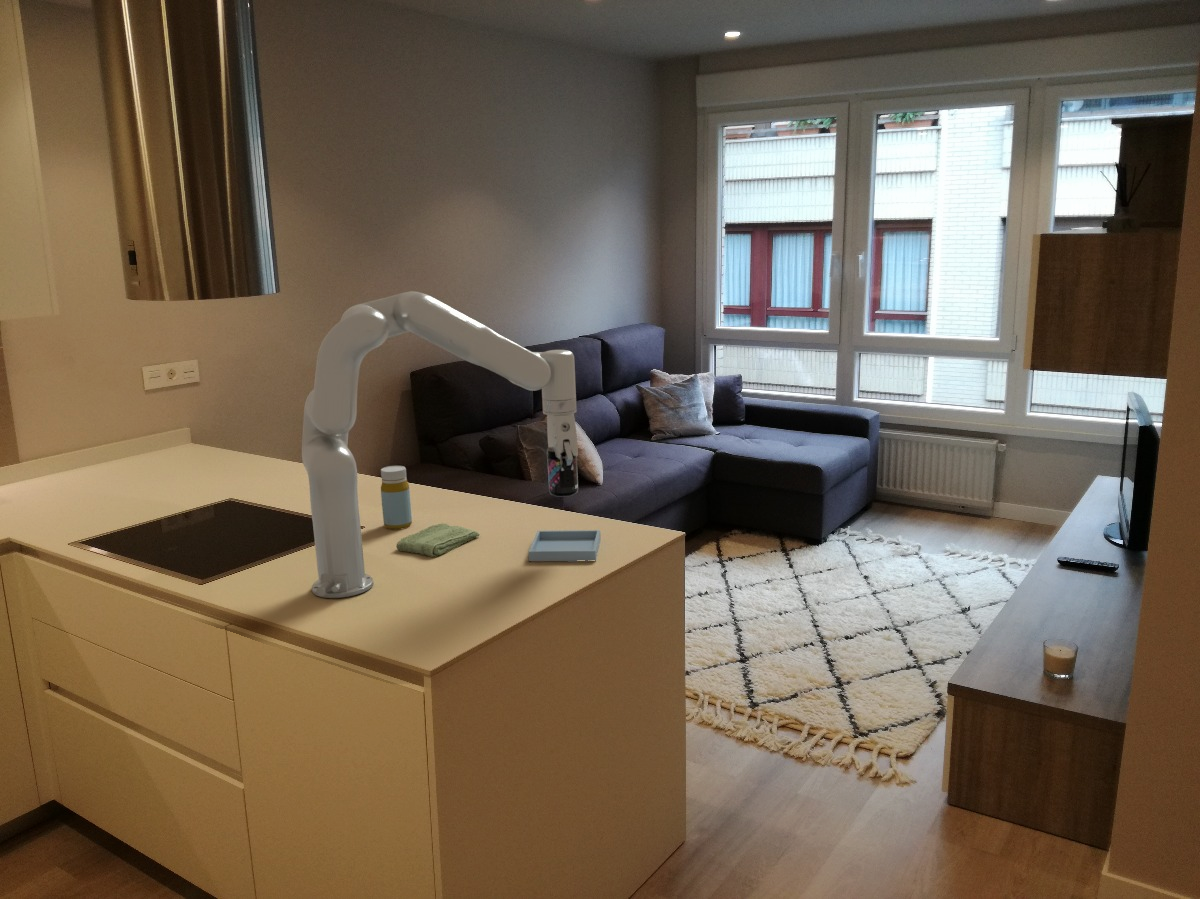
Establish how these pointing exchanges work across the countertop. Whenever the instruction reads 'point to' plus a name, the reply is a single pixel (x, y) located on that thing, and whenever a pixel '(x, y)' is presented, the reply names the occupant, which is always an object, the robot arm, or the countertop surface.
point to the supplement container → (554, 475)
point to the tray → (565, 545)
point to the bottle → (395, 497)
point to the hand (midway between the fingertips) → (563, 482)
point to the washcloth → (436, 539)
